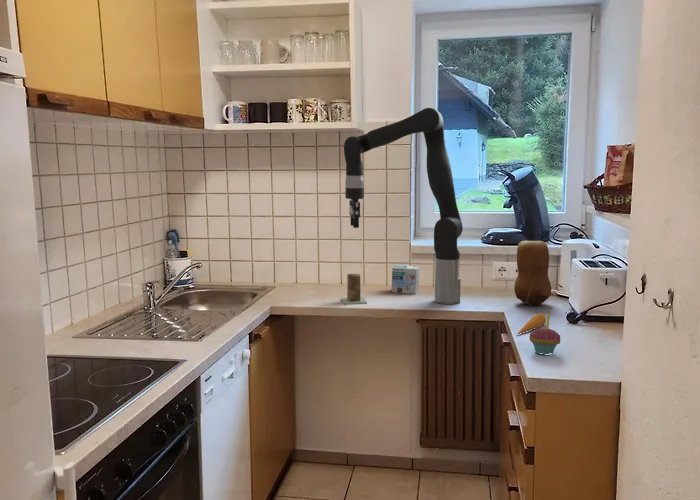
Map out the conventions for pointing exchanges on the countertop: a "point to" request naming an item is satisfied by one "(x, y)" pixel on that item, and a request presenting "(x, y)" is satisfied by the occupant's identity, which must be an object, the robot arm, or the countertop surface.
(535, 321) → the carrot
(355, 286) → the walnut block
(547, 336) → the cupcake
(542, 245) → the butternut squash
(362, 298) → the coaster
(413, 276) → the light bulb box
